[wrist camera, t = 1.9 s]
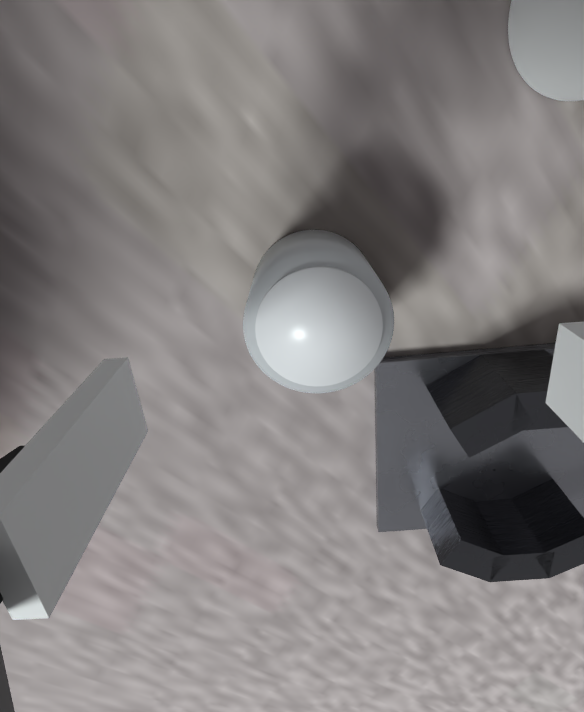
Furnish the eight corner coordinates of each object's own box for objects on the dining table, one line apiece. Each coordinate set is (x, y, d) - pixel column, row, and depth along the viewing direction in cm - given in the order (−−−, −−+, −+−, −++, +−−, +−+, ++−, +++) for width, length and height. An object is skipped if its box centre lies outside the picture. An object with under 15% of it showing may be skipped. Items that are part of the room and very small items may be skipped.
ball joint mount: (376, 524, 29) (391, 588, 25) (374, 358, 24) (392, 403, 20) (597, 509, 28) (650, 571, 24) (643, 335, 23) (719, 377, 19)
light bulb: (260, 350, 24) (252, 402, 19) (245, 235, 21) (231, 262, 16) (373, 340, 24) (395, 390, 19) (372, 223, 21) (396, 246, 16)
